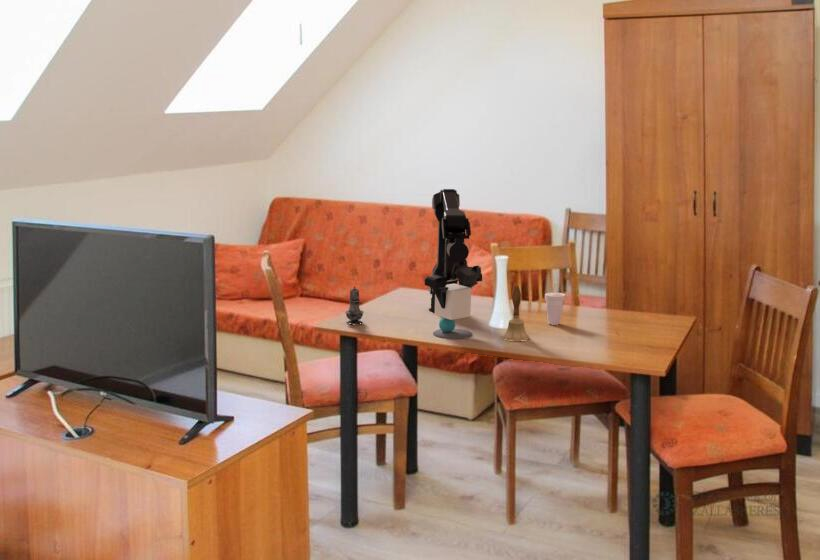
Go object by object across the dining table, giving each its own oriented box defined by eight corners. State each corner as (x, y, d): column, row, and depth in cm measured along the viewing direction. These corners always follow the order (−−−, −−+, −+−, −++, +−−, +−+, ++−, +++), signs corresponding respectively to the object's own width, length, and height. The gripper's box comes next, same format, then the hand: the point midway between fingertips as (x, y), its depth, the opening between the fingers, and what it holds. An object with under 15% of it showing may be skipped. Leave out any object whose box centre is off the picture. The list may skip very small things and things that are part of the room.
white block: (453, 311, 301) (454, 283, 299) (470, 316, 295) (471, 287, 293) (434, 314, 296) (435, 286, 294) (451, 319, 290) (452, 291, 288)
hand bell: (503, 341, 288) (505, 289, 285) (500, 334, 296) (502, 283, 293) (531, 342, 288) (533, 289, 285) (528, 334, 297) (529, 283, 293)
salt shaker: (361, 325, 305) (361, 288, 303) (343, 324, 306) (342, 287, 304) (365, 321, 311) (365, 284, 309) (347, 320, 312) (347, 283, 310)
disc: (454, 327, 305) (454, 326, 305) (480, 334, 296) (480, 334, 296) (425, 332, 297) (425, 332, 297) (451, 341, 288) (451, 340, 288)
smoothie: (566, 323, 311) (568, 280, 309) (560, 327, 306) (562, 283, 303) (547, 320, 314) (548, 278, 311) (541, 325, 308) (542, 281, 305)
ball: (460, 323, 296) (454, 334, 300) (452, 311, 299) (446, 322, 302) (448, 326, 293) (441, 337, 297) (439, 313, 296) (433, 325, 299)
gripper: (448, 263, 280) (447, 316, 283) (495, 256, 291) (494, 307, 294) (423, 257, 288) (423, 308, 291) (470, 251, 300) (469, 300, 303)
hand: (453, 306), depth 295 cm, fingers closed on white block, 8 cm apart
